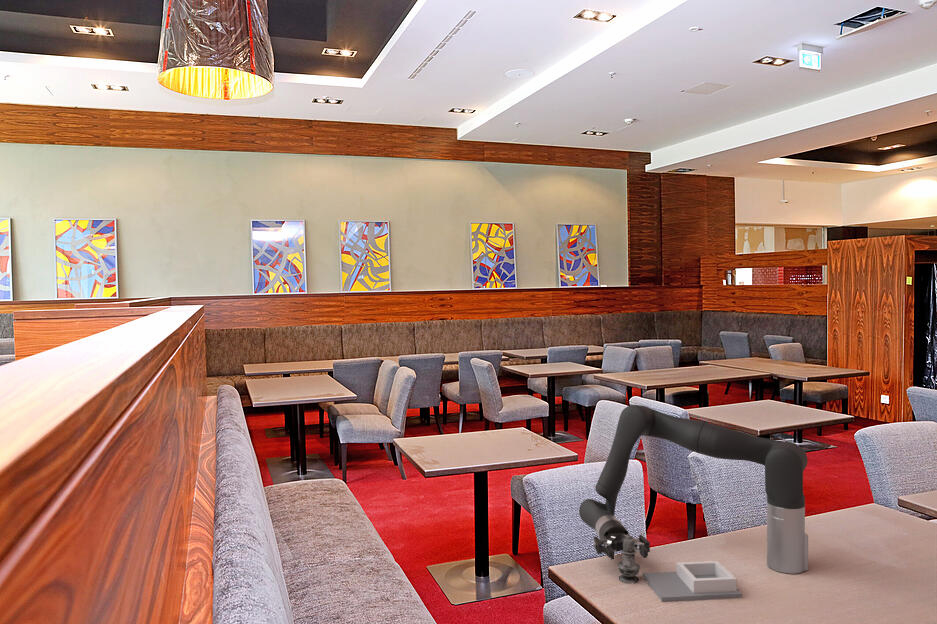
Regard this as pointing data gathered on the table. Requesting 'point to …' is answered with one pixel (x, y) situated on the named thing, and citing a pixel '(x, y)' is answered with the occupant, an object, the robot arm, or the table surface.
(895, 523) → the table surface
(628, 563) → the salt shaker
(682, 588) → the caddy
